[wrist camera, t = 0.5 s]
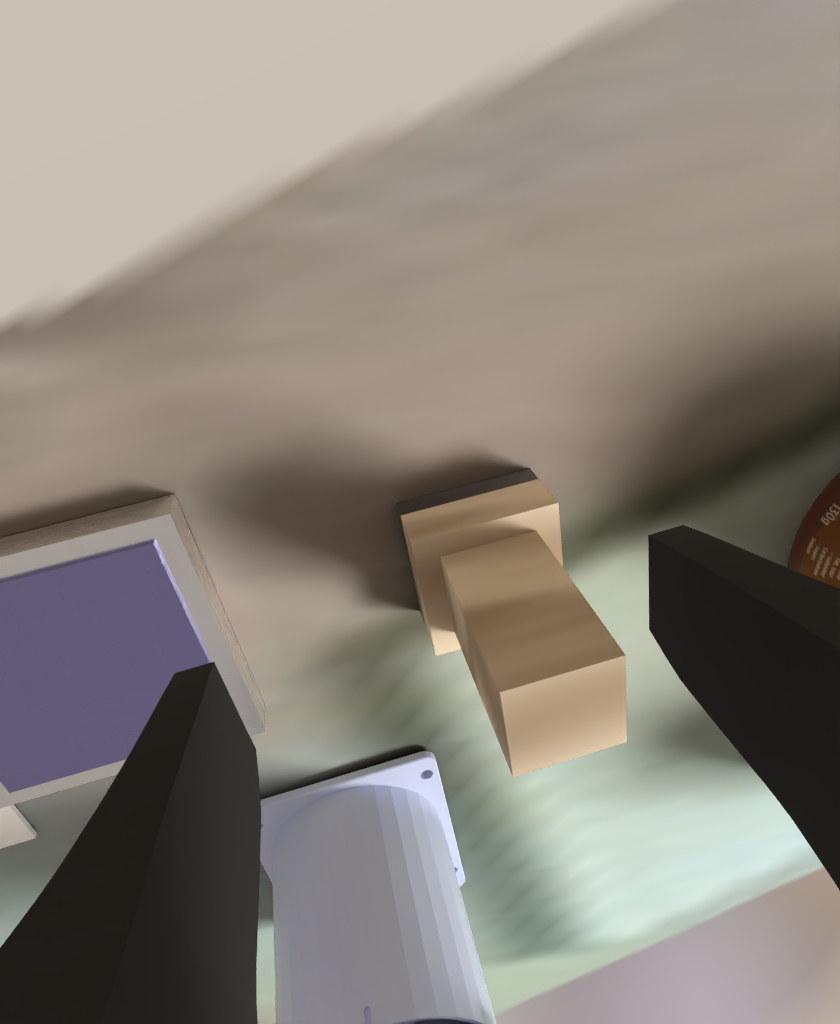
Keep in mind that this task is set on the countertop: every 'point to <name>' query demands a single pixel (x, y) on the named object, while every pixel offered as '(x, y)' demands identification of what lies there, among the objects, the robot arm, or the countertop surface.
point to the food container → (820, 539)
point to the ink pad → (103, 642)
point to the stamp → (516, 618)
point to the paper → (14, 827)
